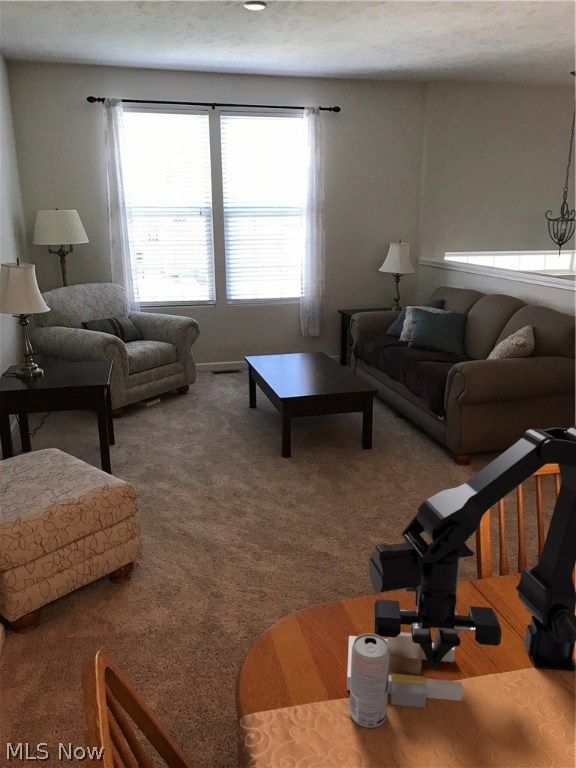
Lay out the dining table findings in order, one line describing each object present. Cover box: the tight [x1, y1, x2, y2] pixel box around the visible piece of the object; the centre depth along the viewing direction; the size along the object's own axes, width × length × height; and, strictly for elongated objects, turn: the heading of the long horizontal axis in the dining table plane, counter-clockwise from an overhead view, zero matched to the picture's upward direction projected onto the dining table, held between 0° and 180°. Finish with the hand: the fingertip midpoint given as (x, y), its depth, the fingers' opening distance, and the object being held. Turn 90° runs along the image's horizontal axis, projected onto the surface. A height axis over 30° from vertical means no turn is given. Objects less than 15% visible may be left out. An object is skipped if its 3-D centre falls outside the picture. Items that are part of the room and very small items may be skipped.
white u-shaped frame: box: [346, 631, 464, 708], centre depth 94 cm, size 17×13×3 cm
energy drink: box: [349, 632, 390, 729], centre depth 85 cm, size 5×5×12 cm
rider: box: [386, 635, 423, 676], centre depth 93 cm, size 5×5×5 cm
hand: (431, 667), depth 93 cm, fingers closed
